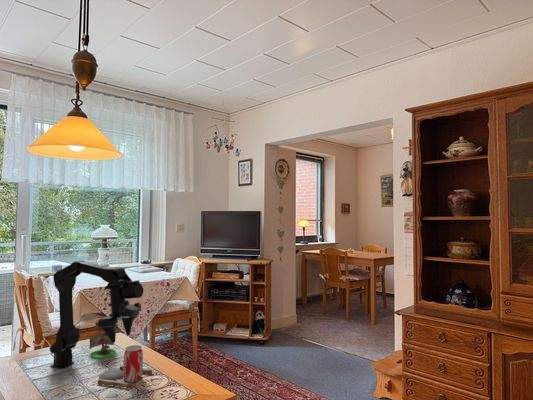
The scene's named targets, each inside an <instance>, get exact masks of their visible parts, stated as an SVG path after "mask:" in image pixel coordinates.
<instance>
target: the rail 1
mask: <svg viewBox="0 0 533 400" xmlns="http://www.w3.org/2000/svg"><path fill="white" fill-rule="evenodd" d="M133 383H134V382H127V381H118V380H114V381H112V380H105V379H99V378H98V380H97V385H99V384H104V385H103V386H106V385H113V386H119V387H118V388H120V387H126V388H125V389H127V388H131V389H133V388H132V387H134V384H133ZM113 386H112V387H113Z"/></svg>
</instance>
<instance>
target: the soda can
mask: <svg viewBox="0 0 533 400" xmlns="http://www.w3.org/2000/svg"><path fill="white" fill-rule="evenodd" d="M143 351H144V350H143V349H142V346H141V345H130V346H126V348H125V350H124V353H123V365H122V366H123V378H122V379H123V380H124V382H126V383H136V382H138V381H139V380H141V379H142V378H143V373H142V371H143V368H144V367H143V366H144V365H143V364H144V352H143ZM135 381H136V382H135Z"/></svg>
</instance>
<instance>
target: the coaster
mask: <svg viewBox="0 0 533 400" xmlns="http://www.w3.org/2000/svg"><path fill="white" fill-rule="evenodd" d="M122 377H123V370H120V368H119V369H110V370H106V371H103V372H102V373H100V374H99V375H98V380H99V379H105V380H114V381H117V380H116V379H119V380H120V378H121V379H123V378H122Z"/></svg>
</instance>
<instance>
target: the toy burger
mask: <svg viewBox="0 0 533 400" xmlns="http://www.w3.org/2000/svg"><path fill="white" fill-rule="evenodd" d="M98 321H99V319H97V320H96V321H95V326H94V327H95V331H100V332H101V333H96V334H92V335H91V336H90V337H89V347H88V349H89V350H91V349H93V348H96V347H98V346H101V347H98V349H97V350H94V351H92V352H91V353H90V358H92V359H98V360H99V359H105V358H111V357H113V356H115V355H116V353H117V352H116V350H115V349H112V348H110V346H114V345H115V342H114V343H113V342H112V341H111V340H110V338H109V336H108V335H107V333H106V332H105V331H104V330H103V328H101V327H98ZM103 331H104V332H103ZM115 336H117V334H116V333H115ZM109 345H110V346H109Z"/></svg>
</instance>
